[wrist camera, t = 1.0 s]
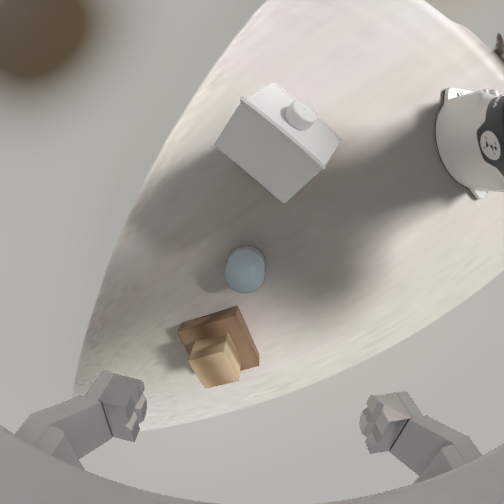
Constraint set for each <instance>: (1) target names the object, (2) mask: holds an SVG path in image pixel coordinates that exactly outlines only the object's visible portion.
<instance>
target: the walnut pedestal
mask: <svg viewBox="0 0 504 504" xmlns="http://www.w3.org/2000/svg"><path fill="white" fill-rule="evenodd" d="M224 332H228V333H229V335H230V337H231V339H232V341H233V343H234V345H235V347H236V349H237V351H238V353H239V355H240V357H241V367H240V371H241V370H245V369H249V368H252V367H256V366H259V353H258V351H257V348H256V346H255V344H254V342H253V340H252V337H251V335H250V333H249V331H248V328H247V326H246V324H245V322H244V319H243V317H242V315H241V313H240V310H239V308H238V306H235V307H232V308H229V309H226V310H222V311H219V312H216V313H213V314H210V315H207V316H203V317H200V318H197V319H194V320H190V321H187V322H184V323H182V324H181V326H180V328H179V330H178V332H177V333H178V335H179V337H180V339H181V340H182V342H183V344H184V346H185V348H186V349H187V351H188V353H189V355H190V354H191V351H192V349H193V346H194V343H195V341H196V340H200V339H203V338H207V337H210V336H214V335H217V334H221V333H224Z"/></svg>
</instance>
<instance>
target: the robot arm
mask: <svg viewBox="0 0 504 504" xmlns="http://www.w3.org/2000/svg"><path fill="white" fill-rule="evenodd" d="M456 94H457V95H456ZM436 141H437V146H438V150H439V154H440V156H441V159H442V161H443V163H444V165H445V167H446V169H447V170H448V172H449V173H450V175H451V176H452V177H453V178H454V179H455V180H456V181H458V182H459V183H460V184H462V185H464V186H466V187H467V188H469V189H470V191H471V192H472V194H473V195H474V196H475V197H476V198H477V199H483V198H484V197H486V196H487V195H488V194H489V193H490V192H492V191H496V192H504V94H503V95H500V96H499V93H498V91H497V90H486V89H485V90H481V91H475V92H474V91H469V90H464V89H458V88H453V87H451V88H447V89H446V90H445V96H444V104H443V107H442V108H441V110H440V112H439V114H438V117H437V121H436ZM144 389H145V388H144V383H143V381H141V380H138V379H134V378H130V377H126V376H122V375H119V374H114V373H110V372H107V371H104V372H102V373H101V374H100V375H99V377H98V378H97V380H96V381H95V382H94V384H93V385H92V386H91V388H90V389H89V391H88V392H87V393H86V395H85V396H78V397H76V398H73V399H71V400H68V401H65V402H63V403H60V404H58V405H55V406H52V407H50V408H47V409H44V410H41V411H38V412H35V413H32V414H31V415H30V416H29V417H28V418H27V420H26V421H25V422H24V423H23V425H22V426H21V427H20V428H19V430H18V431H17V432H16V433H15V434H13V433H12V432H10V431H8V430H7V429H5V428H4V427H2V426H1V425H0V504H217V503H208V502H201V501H194V500H187V499H182V498H176V497H172V496H167V495H162V494H158V493H153V492H149V491H145V490H142V489H138V488H134V487H131V486H127V485H124V484H121V483H117V482H115V481H112V480H109V479H106V478H103V477H100V476H98V475H95V474H92V473H90V472H87V471H85V469H84V468H83V466H82V464H81V463H80V461H79V459H80V458H82V457H83V456H85V455H86V454H88V453H90V452H91V451H93V450H94V449H96V448H98V447H99V446H101V445H102V444H104V443H105V442H107V441H108V440H109V439H111V438H112V436H113V437H117V438H120V439H124V440H128V441H132V442H135V440H136V437H137V435H138V432H139V430H140V428H139V423H141V422H142V421H143V420H144V418H145V415H146V410H147V401H146V397H145V396H144V395H143V391H144ZM367 405H368V407H367V408H366V409H365V410H364V411H363V412H362V414H361V416H360V423H359V424H360V429H361V432H362V434H364V435H365V436H366V437H367V439H366V441H365V442H366V445H367V447H368V450H369V452H370V454H372V453H378V452H385V451H389V452H390V453H392V454H393V455H394V456H395V457H396V458H398V459H399V460H400V461H401V462H403V463H404V464H405V465H406V466H407V467H409V468H410V469H411V470H413V471H414V472H415V473H417V474H418V475H419V477H418V478H417V480H416V481H415V482H414V483H413V484H412V485H408V486H405V487H401V488H398V489H394V490H391V491H387V492H383V493H378V494H375V495H370V496H365V497H360V498H354V499H348V500H342V501H335V502H328V503H319V504H504V444H502V445H501V446H499V447H497V448H495V449H494V450H492V451H490V452H488V453H486V454H484V455H481V453H480V452H479V450H478V449H477V447H476V446H475V445H474V443H473V442H472V440H471V439H470V437H468V436H466V435H464V434H462V433H460V432H458V431H456V430H454V429H452V428H450V427H448V426H446V425H444V424H442V423H440V422H438V421H436V420H434V419H432V418H430V417H428V416H423V415H422V413H421V412H420V410H419V409H418V407H417V406H416V404H415V403H414V401H413V400H412V398H411V397H410V395H409V394H408V392H406V391H401V392H394V393H386V394H377V395H371V396H370V397H369V398H368V401H367Z"/></svg>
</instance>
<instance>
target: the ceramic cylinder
mask: <svg viewBox="0 0 504 504" xmlns="http://www.w3.org/2000/svg"><path fill="white" fill-rule="evenodd" d="M224 274H225V280H226V282H227V284H228V285H229V286H230V287H231V288H232V289H233V290H235V291H237V292H240V293H250V292H253V291H255V290H257V289H258V288H259V287H260V286H261V285H262V283H263V281H264V278H265V266H264V258H263V255H262V253H261V252H260V251H259V250H258V249H257V248H255V247H253V246H249V245H244V246H240V247H238V248H236V249H235V250H234V251H233V252H232V253H231V255H230V257H229V260H228V262H227V265H226V268H225V273H224Z"/></svg>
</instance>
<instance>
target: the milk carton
mask: <svg viewBox="0 0 504 504" xmlns="http://www.w3.org/2000/svg"><path fill="white" fill-rule="evenodd" d="M240 100H241V103H240V105H239V106H238V108H237V109H236V111H235V113H234V114H233V116H232V117H231V119H230V120H229V122H228V124H227V125H226V127H225V128H224V130H223V132H222V133H221V135H220V136H219V138H218V140H217V141H216V143H215V146H216V147H217V148H218V149H219V150H220V151H222V152H223V153H224V154H225V155H226V156H228V157H229V158H230V159H231V160H233V161H234V162H235V163H236V164H237V165H239V166H240V167H241V168H242V169H243V170H245V171H246V172H247V173H248V174H249V175H251V176H252V177H253V178H254V179H255V180H256V181H258V182H259V183H260V184H261V185H262V186H263V187H265V188H266V189H267V190H268V191H269V192H270V193H271V194H273V195H274V196H275V197H276V198H277V199H278V200H280V201H281V202H282V203H284V204H285V203H286V202H287V201H288V200H289V199H290V198H291V197H293V196H294V195H295V194H296V193H297V192H298V191H299V190H300V189H301V188H302V187H304V186H305V185H306V184H307V183H308V182H309V181H310V180H311V179H312V178H313V177H315V176H316V175H317V174H318V173H319V172H320V171H321V170H325V169H326V166H325V165H326V163H327V162H328V160H329V159H330V157H331V156H332V154H333V153H334V151H335V150H336V148H337V147H338V145H339V144H340V142H341V141H342V140H341V139H340V138H339V137H338V136H337V135H336V134H335V133H334V132H333V131H332V130H331V129H330V128H329V127H328V126H327V125H326V124H325V123H323V122H322V121H321V120H320V119H319V118H318V115H317V112H316V111H315V109H314V108H313V107H312V106H311V105H309V104H308V103H306V102H305V101H302V100H296V99H295V98H294V97H293V96H291V95H290V94H289V93H288V92H286V91H285V90H284V89H282V88H281V87H280V86H278V85H277V84H276V83H274V82H272V83H270V84H269V85H267V86H265V87H264V88H262V89H260V90H259V91H257V92H256V93H254V94H252V95H251V96H249V97H248V98H246V99H245V98H244V97H241V98H240Z"/></svg>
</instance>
